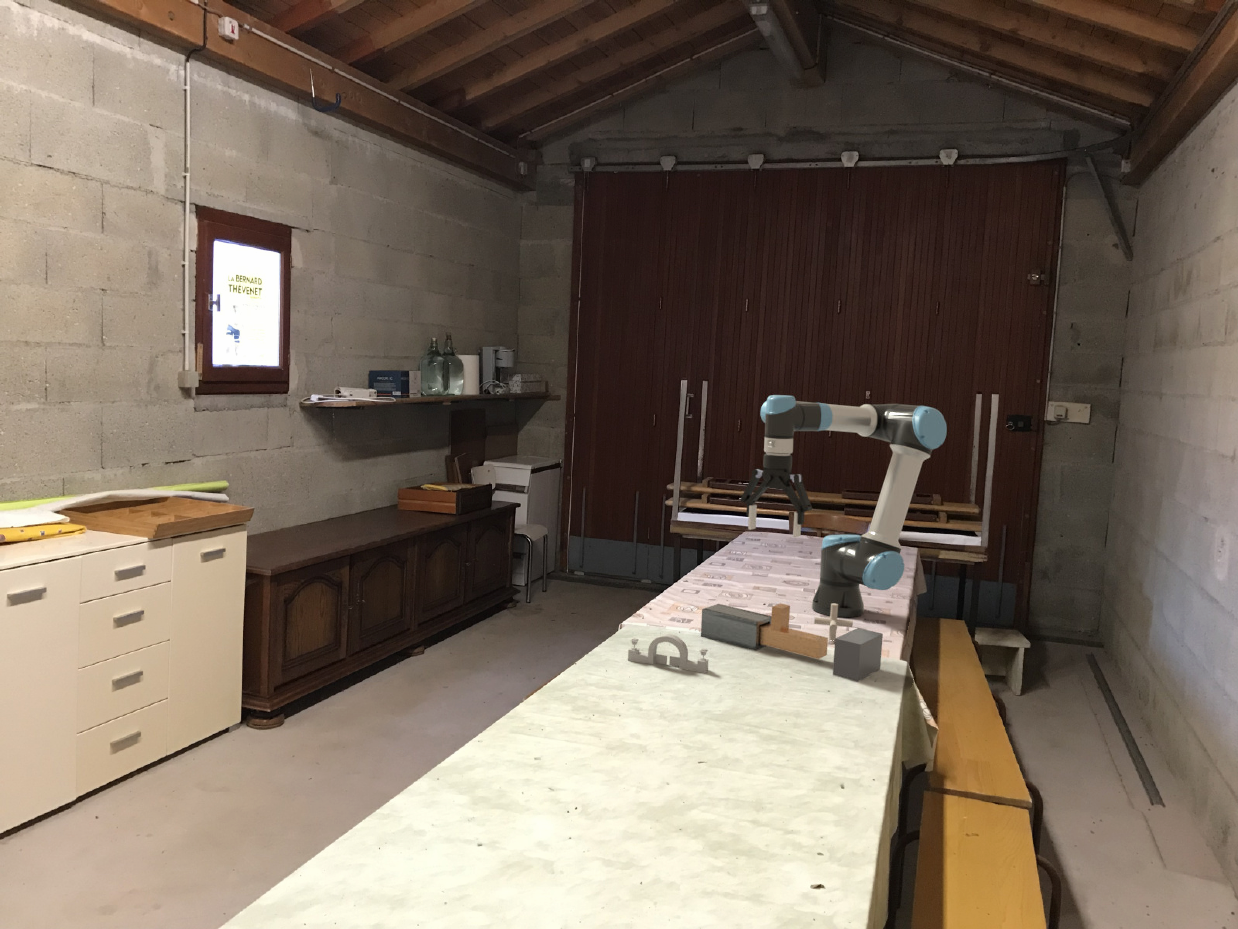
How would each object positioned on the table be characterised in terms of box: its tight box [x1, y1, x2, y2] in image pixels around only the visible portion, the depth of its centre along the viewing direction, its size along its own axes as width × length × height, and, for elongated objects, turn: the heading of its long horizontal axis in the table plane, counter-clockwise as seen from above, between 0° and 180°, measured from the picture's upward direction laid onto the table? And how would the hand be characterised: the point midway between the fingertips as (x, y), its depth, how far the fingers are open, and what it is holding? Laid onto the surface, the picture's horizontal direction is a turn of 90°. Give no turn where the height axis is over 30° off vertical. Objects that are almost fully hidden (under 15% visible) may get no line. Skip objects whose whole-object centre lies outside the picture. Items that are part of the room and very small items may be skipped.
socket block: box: [832, 627, 884, 682], centre depth 231 cm, size 12×6×9 cm, turn 141°
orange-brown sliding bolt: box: [758, 603, 829, 660], centre depth 246 cm, size 4×30×10 cm, turn 50°
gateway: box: [627, 633, 709, 674], centre depth 231 cm, size 20×2×8 cm, turn 69°
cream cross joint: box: [813, 603, 854, 642], centre depth 256 cm, size 10×10×10 cm
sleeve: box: [700, 603, 772, 652], centre depth 253 cm, size 8×17×8 cm, turn 51°
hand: (773, 532), depth 255 cm, fingers open, 13 cm apart
